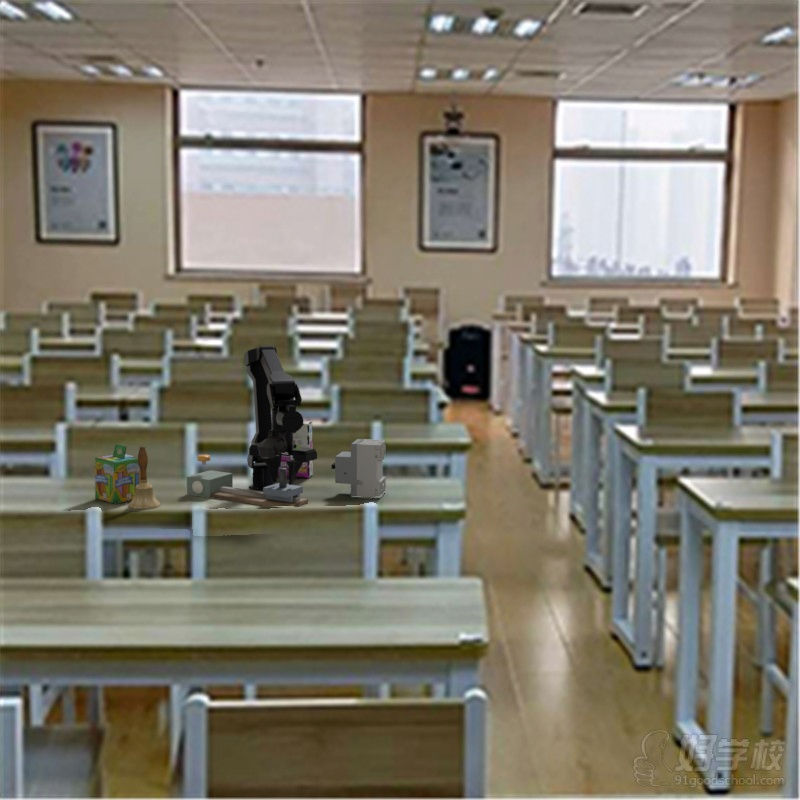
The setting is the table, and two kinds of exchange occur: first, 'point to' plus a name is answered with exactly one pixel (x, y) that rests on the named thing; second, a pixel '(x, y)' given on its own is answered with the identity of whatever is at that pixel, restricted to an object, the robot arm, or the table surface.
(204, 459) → the tan round piece
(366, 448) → the circuit breaker
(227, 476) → the grey green box
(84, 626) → the table surface
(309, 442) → the candy bar box
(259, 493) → the rail track
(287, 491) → the grey peg on base
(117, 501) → the chalk box
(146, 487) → the hand bell
